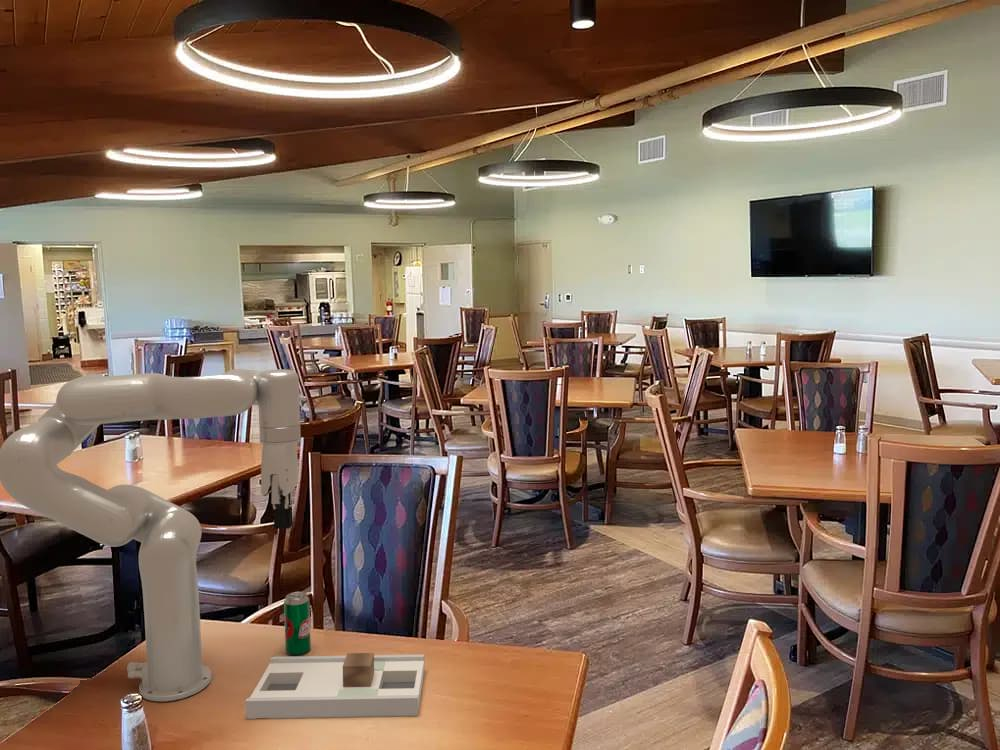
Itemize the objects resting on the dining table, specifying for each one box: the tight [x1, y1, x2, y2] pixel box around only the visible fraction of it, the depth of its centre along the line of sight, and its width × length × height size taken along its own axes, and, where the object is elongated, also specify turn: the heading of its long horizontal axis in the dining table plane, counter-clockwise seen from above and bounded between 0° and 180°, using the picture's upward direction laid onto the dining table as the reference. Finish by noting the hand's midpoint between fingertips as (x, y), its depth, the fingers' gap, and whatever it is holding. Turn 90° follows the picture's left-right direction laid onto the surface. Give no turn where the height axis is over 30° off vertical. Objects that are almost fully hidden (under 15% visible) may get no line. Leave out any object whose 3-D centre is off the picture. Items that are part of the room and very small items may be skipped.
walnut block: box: [343, 652, 375, 687], centre depth 138 cm, size 5×5×4 cm
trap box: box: [245, 653, 426, 720], centre depth 138 cm, size 30×16×3 cm, turn 91°
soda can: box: [283, 591, 312, 657], centre depth 154 cm, size 5×5×12 cm
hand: (283, 527), depth 144 cm, fingers closed
